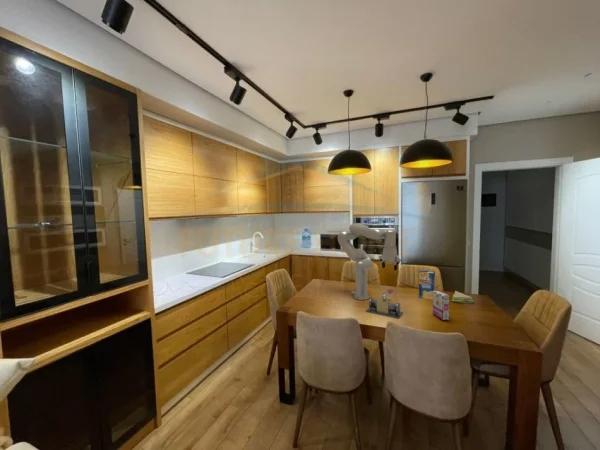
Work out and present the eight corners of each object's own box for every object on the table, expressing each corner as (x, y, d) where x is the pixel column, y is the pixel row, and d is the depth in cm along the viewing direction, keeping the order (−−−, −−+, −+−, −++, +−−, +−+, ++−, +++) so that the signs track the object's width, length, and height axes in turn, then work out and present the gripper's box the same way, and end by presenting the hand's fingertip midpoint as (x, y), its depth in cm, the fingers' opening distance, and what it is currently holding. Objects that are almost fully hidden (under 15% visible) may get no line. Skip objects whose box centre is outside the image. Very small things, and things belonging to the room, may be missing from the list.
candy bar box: (449, 320, 170) (450, 295, 169) (442, 320, 169) (442, 295, 168) (439, 313, 181) (439, 290, 180) (432, 313, 180) (432, 290, 180)
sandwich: (470, 298, 212) (470, 292, 212) (474, 306, 194) (474, 299, 194) (448, 295, 219) (448, 290, 218) (451, 303, 201) (451, 297, 201)
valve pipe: (365, 311, 187) (365, 297, 186) (371, 306, 196) (371, 293, 195) (398, 318, 173) (398, 303, 173) (403, 313, 182) (403, 298, 182)
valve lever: (385, 298, 182) (385, 295, 182) (381, 297, 184) (381, 294, 184) (393, 291, 196) (393, 289, 196) (389, 291, 198) (389, 288, 198)
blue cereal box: (433, 300, 207) (434, 273, 206) (418, 298, 213) (418, 271, 212) (434, 298, 213) (435, 271, 212) (420, 295, 219) (420, 270, 218)
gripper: (377, 245, 198) (376, 267, 200) (398, 248, 186) (397, 272, 187) (382, 244, 203) (381, 266, 205) (403, 247, 191) (402, 270, 192)
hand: (389, 268), depth 196 cm, fingers open, 9 cm apart
